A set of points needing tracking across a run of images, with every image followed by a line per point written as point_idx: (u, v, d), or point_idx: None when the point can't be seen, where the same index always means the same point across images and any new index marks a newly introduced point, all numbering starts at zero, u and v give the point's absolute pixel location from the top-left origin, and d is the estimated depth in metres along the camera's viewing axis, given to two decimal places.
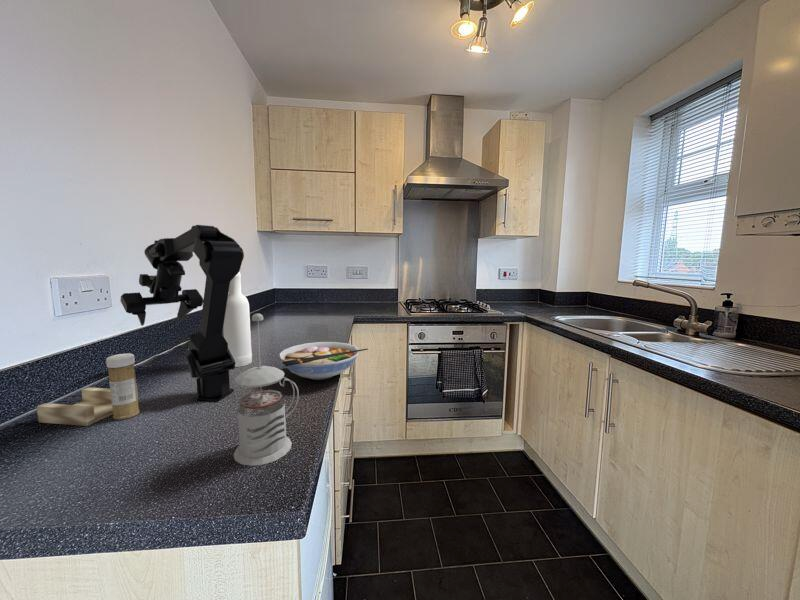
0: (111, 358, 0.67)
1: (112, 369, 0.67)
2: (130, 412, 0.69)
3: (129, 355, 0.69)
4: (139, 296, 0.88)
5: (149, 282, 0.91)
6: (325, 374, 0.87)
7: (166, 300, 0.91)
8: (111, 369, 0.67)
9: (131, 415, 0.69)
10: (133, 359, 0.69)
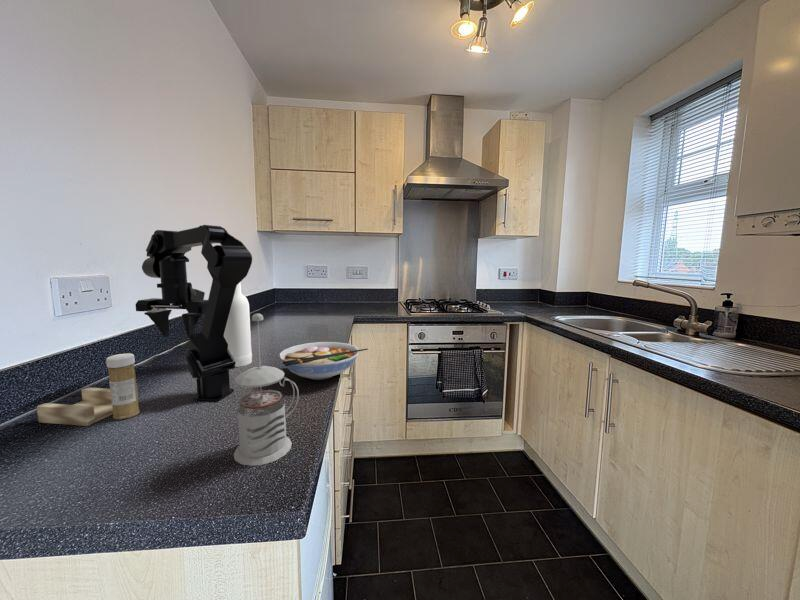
0: (111, 358, 0.67)
1: (112, 369, 0.67)
2: (130, 412, 0.69)
3: (129, 355, 0.69)
4: (156, 299, 0.86)
5: None
6: (325, 374, 0.87)
7: (164, 299, 0.83)
8: (111, 369, 0.67)
9: (131, 415, 0.69)
10: (133, 359, 0.69)
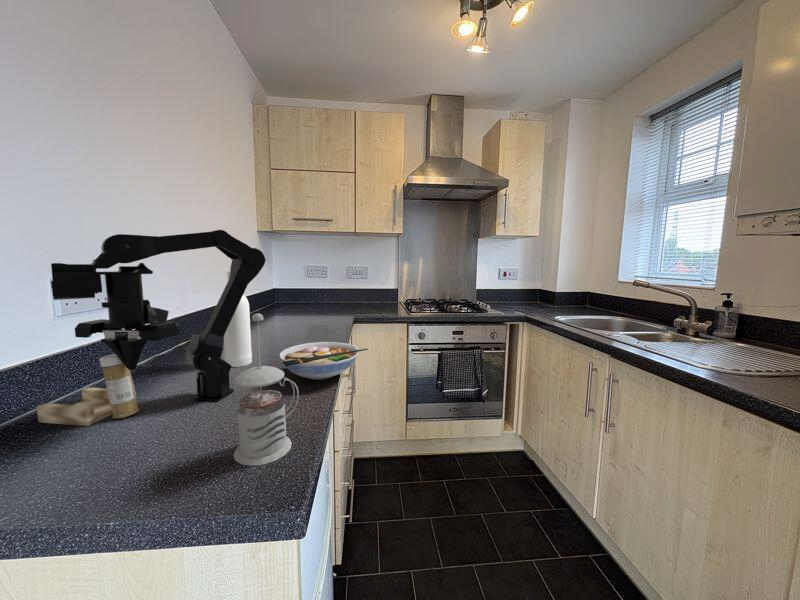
0: (104, 357, 0.67)
1: (107, 368, 0.67)
2: (129, 410, 0.69)
3: None
4: (103, 321, 0.68)
5: None
6: (325, 374, 0.87)
7: (111, 322, 0.65)
8: (105, 368, 0.67)
9: (130, 413, 0.69)
10: None
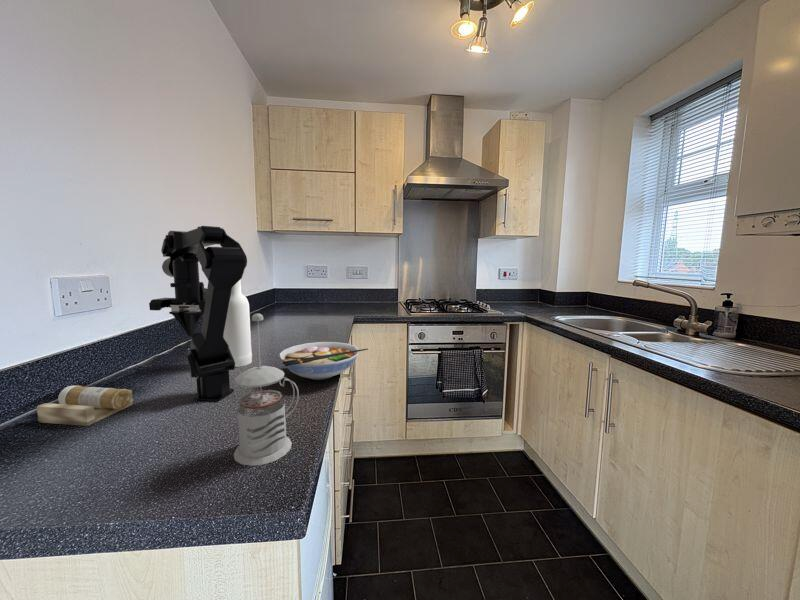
0: None
1: (69, 392, 0.71)
2: (119, 389, 0.72)
3: None
4: (169, 298, 0.88)
5: None
6: (325, 374, 0.87)
7: (177, 298, 0.84)
8: (68, 394, 0.71)
9: (122, 389, 0.72)
10: None
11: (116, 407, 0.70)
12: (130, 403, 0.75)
